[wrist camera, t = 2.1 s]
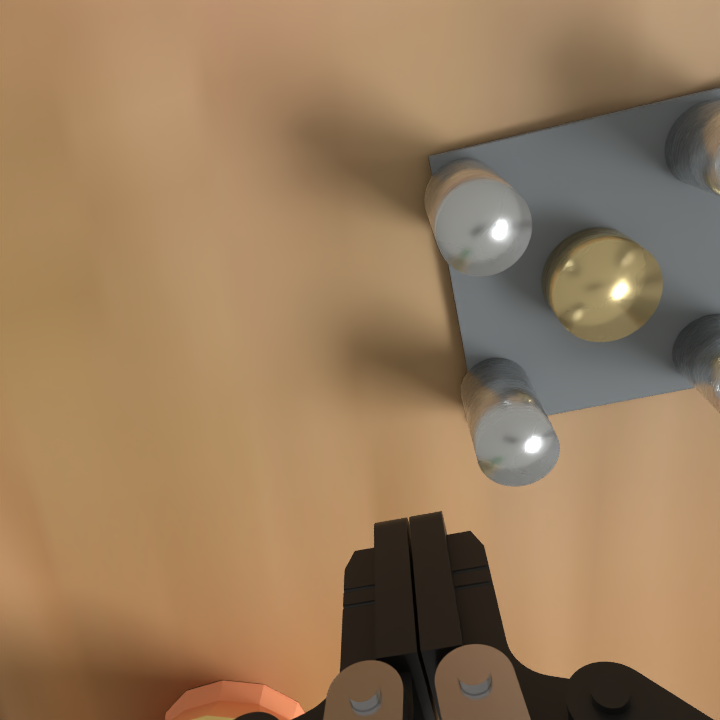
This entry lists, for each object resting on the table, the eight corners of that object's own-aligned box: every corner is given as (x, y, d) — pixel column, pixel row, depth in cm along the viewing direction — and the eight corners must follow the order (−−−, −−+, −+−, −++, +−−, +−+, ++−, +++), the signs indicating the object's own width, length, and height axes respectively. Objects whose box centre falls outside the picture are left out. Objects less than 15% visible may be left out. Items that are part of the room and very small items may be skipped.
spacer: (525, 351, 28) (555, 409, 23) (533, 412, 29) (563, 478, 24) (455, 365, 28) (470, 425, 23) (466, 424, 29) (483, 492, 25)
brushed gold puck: (640, 217, 25) (660, 229, 23) (644, 311, 27) (664, 330, 25) (535, 239, 26) (548, 253, 24) (547, 331, 27) (559, 351, 25)
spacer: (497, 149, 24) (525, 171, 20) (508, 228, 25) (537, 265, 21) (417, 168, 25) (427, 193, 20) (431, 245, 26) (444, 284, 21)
